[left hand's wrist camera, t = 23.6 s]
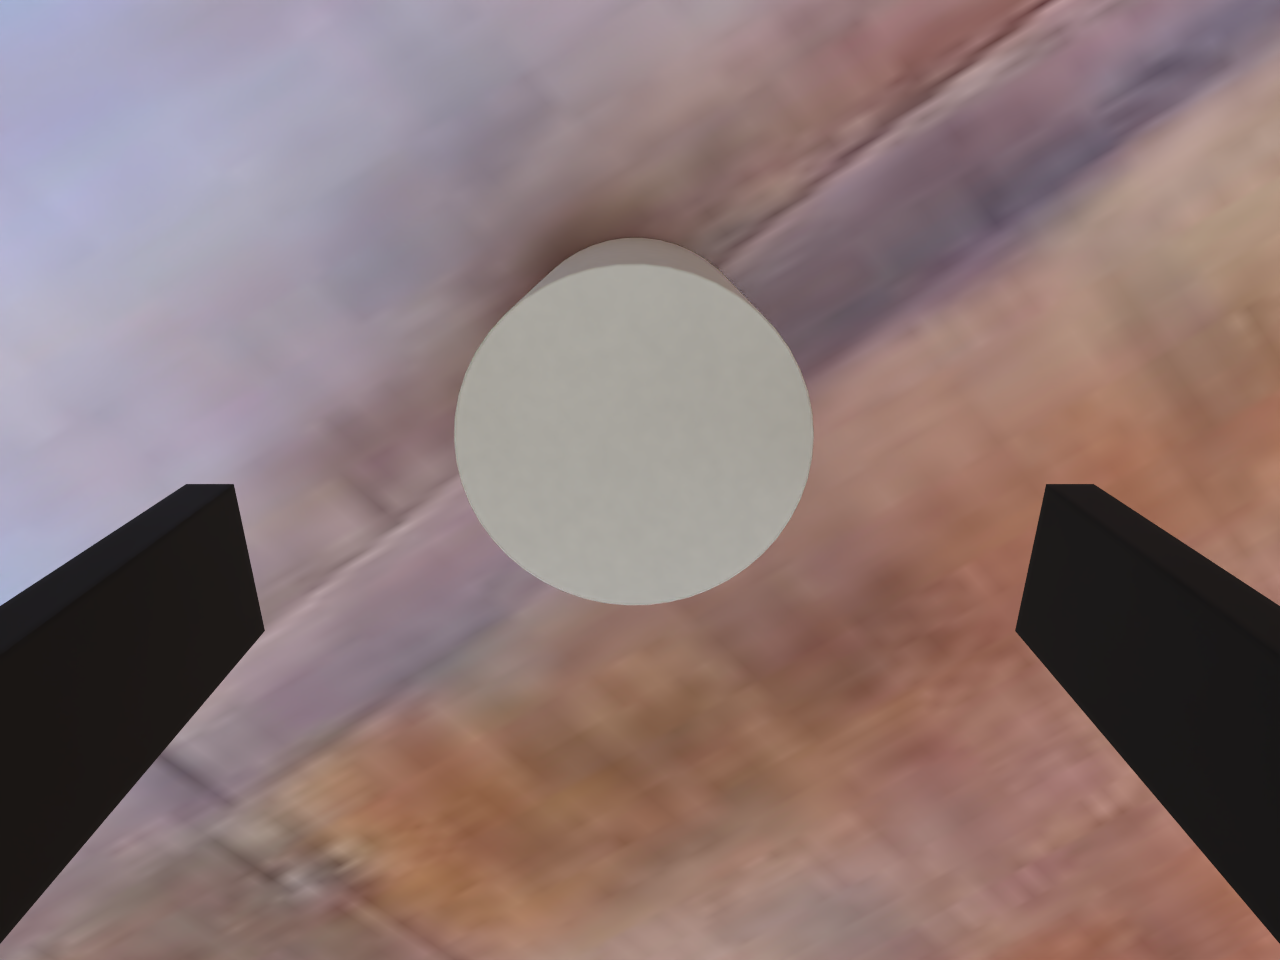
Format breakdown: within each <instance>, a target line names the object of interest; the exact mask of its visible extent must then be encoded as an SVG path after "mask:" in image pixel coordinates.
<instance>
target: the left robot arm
mask: <svg viewBox="0 0 1280 960" xmlns="http://www.w3.org/2000/svg"><path fill="white" fill-rule="evenodd" d="M264 631H265V630H264V625H263V620H262V616H261V611H260V606H259V601H258V597H257V592H256V587H255V583H254V578H253V573H252V568H251V564H250V559H249V554H248V549H247V545H246V540H245V535H244V531H243V526H242V521H241V516H240V512H239V507H238V502H237V498H236V493H235V488H234V484H186V485H184V486H183V487H181V488H180V489H178V490H177V491H175V492H174V493H172V494H171V495H169V496H168V497H166V498H165V499H163V500H161V501H160V502H158V503H157V504H155V505H154V506H152V507H151V508H149V509H148V510H146V511H145V512H143V513H142V514H140V515H139V516H137V517H136V518H134V519H132V520H131V521H129V522H128V523H126V524H125V525H123V526H122V527H120V528H119V529H117V530H116V531H114V532H113V533H111V534H110V535H108V536H107V537H105V538H103V539H102V540H100V541H99V542H97V543H96V544H94V545H93V546H91V547H90V548H88V549H87V550H85V551H84V552H82V553H81V554H79V555H78V556H76V557H74V558H73V559H71V560H70V561H68V562H67V563H65V564H64V565H62V566H61V567H59V568H58V569H56V570H55V571H53V572H52V573H50V574H49V575H47V576H45V577H44V578H42V579H41V580H39V581H38V582H36V583H35V584H33V585H32V586H30V587H29V588H27V589H26V590H24V591H23V592H21V593H20V594H18V595H16V596H15V597H13V598H12V599H10V600H9V601H7V602H6V603H4V604H3V605H1V606H0V943H1V942H2V941H3V940H4V939H5V937H6V936H7V935H8V934H9V933H10V931H11V930H12V929H13V928H14V927H15V926H16V924H17V923H18V922H19V921H20V920H21V918H22V917H23V916H24V915H25V914H26V913H27V911H28V910H29V909H30V908H31V907H32V905H33V904H34V903H35V902H36V901H37V900H38V898H39V897H40V896H41V895H42V894H43V892H44V891H45V890H46V889H47V888H48V887H49V885H50V884H51V883H52V882H53V881H54V879H55V878H56V877H57V876H58V875H59V873H60V872H61V871H62V870H63V869H64V868H65V866H66V865H67V864H68V863H69V862H70V860H71V859H72V858H73V857H74V856H75V855H76V853H77V852H78V851H79V850H80V849H81V847H82V846H83V845H84V844H85V843H86V842H87V840H88V839H89V838H90V837H91V836H92V834H93V833H94V832H95V831H96V830H97V829H98V827H99V826H100V825H101V824H102V823H103V821H104V820H105V819H106V818H107V817H108V816H109V814H110V813H111V812H112V811H113V810H114V808H115V807H116V806H117V805H118V804H119V803H120V801H121V800H122V799H123V798H124V797H125V795H126V794H127V793H128V792H129V791H130V790H131V788H132V787H133V786H134V785H135V784H136V782H137V781H138V780H139V779H140V778H141V777H142V775H143V774H144V773H145V772H146V771H147V769H148V768H149V767H150V766H151V765H152V764H153V762H154V761H155V760H156V759H157V758H158V756H159V755H160V754H161V753H162V752H163V751H164V749H165V748H166V747H167V746H168V745H169V743H170V742H171V741H172V740H173V739H174V737H175V736H176V735H177V734H178V733H179V732H180V730H181V729H182V728H183V727H184V726H185V724H186V723H187V722H188V721H189V720H190V719H191V717H192V716H193V715H194V714H195V713H196V711H197V710H198V709H199V708H200V707H201V706H202V704H203V703H204V702H205V701H206V700H207V698H208V697H209V696H210V695H211V694H212V693H213V691H214V690H215V689H216V688H217V687H218V685H219V684H220V683H221V682H222V681H223V680H224V678H225V677H226V676H227V675H228V674H229V672H230V671H231V670H232V669H233V668H234V667H235V665H236V664H237V663H238V662H239V661H240V659H241V658H242V657H243V656H244V655H245V654H246V652H247V651H248V650H249V649H250V648H251V646H252V645H253V644H254V643H255V642H256V641H257V639H258V638H259V637H260V636H261V635H262V633H263V632H264ZM1015 631H1016V632H1017V633H1018V635H1019V636H1020V637H1021V638H1022V639H1023V641H1024V642H1025V643H1026V644H1027V645H1028V646H1029V648H1030V649H1031V650H1032V651H1033V652H1034V654H1035V655H1036V656H1037V657H1038V658H1039V659H1040V661H1041V662H1042V663H1043V664H1044V665H1045V667H1046V668H1047V669H1048V670H1049V671H1050V672H1051V674H1052V675H1053V676H1054V677H1055V678H1056V680H1057V681H1058V682H1059V683H1060V684H1061V685H1062V687H1063V688H1064V689H1065V690H1066V691H1067V693H1068V694H1069V695H1070V696H1071V697H1072V698H1073V700H1074V701H1075V702H1076V703H1077V704H1078V706H1079V707H1080V708H1081V709H1082V710H1083V711H1084V713H1085V714H1086V715H1087V716H1088V717H1089V719H1090V720H1091V721H1092V722H1093V723H1094V724H1095V726H1096V727H1097V728H1098V729H1099V730H1100V732H1101V733H1102V734H1103V735H1104V736H1105V737H1106V739H1107V740H1108V741H1109V742H1110V743H1111V745H1112V746H1113V747H1114V748H1115V749H1116V751H1117V752H1118V753H1119V754H1120V755H1121V756H1122V758H1123V759H1124V760H1125V761H1126V762H1127V764H1128V765H1129V766H1130V767H1131V768H1132V769H1133V771H1134V772H1135V773H1136V774H1137V775H1138V777H1139V778H1140V779H1141V780H1142V781H1143V782H1144V784H1145V785H1146V786H1147V787H1148V788H1149V790H1150V791H1151V792H1152V793H1153V794H1154V795H1155V797H1156V798H1157V799H1158V800H1159V801H1160V803H1161V804H1162V805H1163V806H1164V807H1165V808H1166V810H1167V811H1168V812H1169V813H1170V814H1171V816H1172V817H1173V818H1174V819H1175V820H1176V821H1177V823H1178V824H1179V825H1180V826H1181V827H1182V829H1183V830H1184V831H1185V832H1186V833H1187V834H1188V836H1189V837H1190V838H1191V839H1192V840H1193V842H1194V843H1195V844H1196V845H1197V846H1198V847H1199V849H1200V850H1201V851H1202V852H1203V853H1204V855H1205V856H1206V857H1207V858H1208V859H1209V860H1210V862H1211V863H1212V864H1213V865H1214V866H1215V868H1216V869H1217V870H1218V871H1219V872H1220V873H1221V875H1222V876H1223V877H1224V878H1225V879H1226V881H1227V882H1228V883H1229V884H1230V885H1231V887H1232V888H1233V889H1234V890H1235V891H1236V892H1237V894H1238V895H1239V896H1240V897H1241V898H1242V900H1243V901H1244V902H1245V903H1246V904H1247V905H1248V907H1249V908H1250V909H1251V910H1252V911H1253V913H1254V914H1255V915H1256V916H1257V917H1258V918H1259V920H1260V921H1261V922H1262V923H1263V924H1264V926H1265V927H1266V928H1267V929H1268V930H1269V931H1270V933H1271V934H1272V935H1273V936H1274V937H1275V939H1276V940H1277V941H1278V942H1279V943H1280V606H1279V605H1277V604H1276V603H1274V602H1273V601H1271V600H1270V599H1268V598H1267V597H1265V596H1264V595H1262V594H1260V593H1259V592H1257V591H1256V590H1254V589H1253V588H1251V587H1250V586H1248V585H1247V584H1245V583H1244V582H1242V581H1241V580H1239V579H1238V578H1236V577H1235V576H1233V575H1231V574H1230V573H1228V572H1227V571H1225V570H1224V569H1222V568H1221V567H1219V566H1218V565H1216V564H1215V563H1213V562H1212V561H1210V560H1209V559H1207V558H1206V557H1204V556H1202V555H1201V554H1199V553H1198V552H1196V551H1195V550H1193V549H1192V548H1190V547H1189V546H1187V545H1186V544H1184V543H1183V542H1181V541H1180V540H1178V539H1177V538H1175V537H1173V536H1172V535H1170V534H1169V533H1167V532H1166V531H1164V530H1163V529H1161V528H1160V527H1158V526H1157V525H1155V524H1154V523H1152V522H1151V521H1149V520H1148V519H1146V518H1144V517H1143V516H1141V515H1140V514H1138V513H1137V512H1135V511H1134V510H1132V509H1131V508H1129V507H1128V506H1126V505H1125V504H1123V503H1122V502H1120V501H1119V500H1117V499H1115V498H1114V497H1112V496H1111V495H1109V494H1108V493H1106V492H1105V491H1103V490H1102V489H1100V488H1099V487H1097V486H1096V485H1094V484H1046V488H1045V493H1044V498H1043V502H1042V507H1041V512H1040V516H1039V521H1038V526H1037V531H1036V535H1035V540H1034V545H1033V549H1032V554H1031V559H1030V564H1029V568H1028V573H1027V578H1026V583H1025V587H1024V592H1023V597H1022V601H1021V606H1020V611H1019V616H1018V620H1017V625H1016V630H1015Z"/></svg>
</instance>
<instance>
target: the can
mask: <svg viewBox="0 0 1280 960" xmlns="http://www.w3.org/2000/svg"><path fill="white" fill-rule="evenodd" d="M813 439H814V431H813V415H812V409H811V404H810V399H809V394H808V390H807V387H806V384H805V381H804V379H803V376H802V373H801V370H800V368H799V366H798V364H797V362H796V360H795V358H794V356H793V354H792V353H791V351H790V349H789V347H788V346H787V344H786V343H785V342H784V340H783V339H782V337H781V336H780V335H779V333H778V332H777V330H776V329H775V328H774V327H773V326H772V325H771V324H770V323H769V322H768V320H767V319H766V318H765V317H764V316H763V315H762V314H761V313H760V312H759V311H758V310H757V309H756V308H755V307H754V306H753V305H752V304H751V303H750V302H749V301H748V300H747V299H746V298H745V297H744V296H743V295H742V294H741V293H740V292H739V291H738V289H737V288H736V287H735V286H734V285H733V284H732V283H731V282H730V281H729V280H728V279H727V278H726V277H725V276H724V275H723V274H722V273H721V272H720V271H719V270H718V269H717V268H716V267H714V266H713V265H712V264H711V263H709V262H708V261H707V260H705V259H704V258H702V257H701V256H699V255H697V254H696V253H694V252H692V251H690V250H688V249H686V248H683V247H681V246H679V245H676V244H673V243H669V242H666V241H662V240H657V239H649V238H621V239H615V240H609V241H605V242H602V243H598V244H595V245H592V246H590V247H588V248H585V249H583V250H581V251H579V252H577V253H575V254H574V255H572V256H571V257H569V258H567V259H566V260H564V261H563V262H562V263H560V264H559V265H558V266H557V267H556V268H555V269H553V270H552V271H551V272H550V273H549V274H548V275H547V276H546V277H544V278H543V279H542V280H541V281H540V282H539V283H538V284H537V285H536V286H535V287H534V288H533V289H532V290H531V291H529V292H528V293H527V294H526V295H525V296H524V297H523V298H522V299H521V300H520V301H519V302H518V303H517V304H515V305H514V306H513V307H512V308H511V309H510V310H509V311H508V312H507V313H506V314H505V315H504V316H503V317H502V318H501V319H500V320H499V322H498V323H497V324H496V325H495V326H494V327H493V328H492V329H491V330H490V332H489V333H488V334H487V336H486V337H485V339H484V340H483V342H482V343H481V345H480V346H479V348H478V349H477V351H476V352H475V355H474V357H473V359H472V361H471V363H470V365H469V367H468V369H467V371H466V373H465V376H464V379H463V383H462V386H461V389H460V392H459V395H458V401H457V407H456V413H455V424H454V444H455V454H456V462H457V466H458V471H459V475H460V479H461V483H462V485H463V488H464V491H465V493H466V496H467V498H468V501H469V503H470V505H471V507H472V509H473V511H474V512H475V514H476V516H477V518H478V520H479V521H480V523H481V525H482V526H483V527H484V529H485V530H486V531H487V533H488V534H489V535H490V537H491V538H492V540H493V541H494V542H495V543H496V544H497V545H498V546H499V547H500V548H501V549H502V550H503V551H504V552H505V554H506V555H507V556H508V557H510V558H511V559H512V560H513V561H514V562H516V563H517V564H518V565H519V566H520V567H522V568H523V569H524V570H525V571H527V572H529V573H530V574H532V575H533V576H535V577H536V578H538V579H540V580H541V581H543V582H545V583H547V584H549V585H551V586H553V587H555V588H557V589H559V590H561V591H563V592H566V593H569V594H572V595H575V596H578V597H581V598H584V599H588V600H593V601H597V602H602V603H609V604H619V605H651V604H659V603H667V602H672V601H676V600H680V599H684V598H688V597H691V596H694V595H697V594H699V593H702V592H705V591H707V590H710V589H712V588H714V587H716V586H718V585H720V584H722V583H724V582H726V581H728V580H729V579H731V578H732V577H734V576H735V575H737V574H738V573H740V572H741V571H743V570H744V569H746V568H747V567H748V566H749V565H750V564H752V563H753V562H754V561H755V560H756V559H757V558H759V557H760V556H761V555H762V554H763V553H764V552H765V551H766V550H767V549H768V548H769V546H770V545H771V544H772V543H773V542H774V541H775V540H776V539H777V537H778V536H779V535H780V533H781V532H782V530H783V529H784V527H785V526H786V525H787V523H788V522H789V520H790V518H791V517H792V515H793V513H794V511H795V509H796V507H797V505H798V503H799V501H800V499H801V496H802V493H803V490H804V488H805V485H806V482H807V479H808V475H809V470H810V465H811V461H812V452H813Z"/></svg>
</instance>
